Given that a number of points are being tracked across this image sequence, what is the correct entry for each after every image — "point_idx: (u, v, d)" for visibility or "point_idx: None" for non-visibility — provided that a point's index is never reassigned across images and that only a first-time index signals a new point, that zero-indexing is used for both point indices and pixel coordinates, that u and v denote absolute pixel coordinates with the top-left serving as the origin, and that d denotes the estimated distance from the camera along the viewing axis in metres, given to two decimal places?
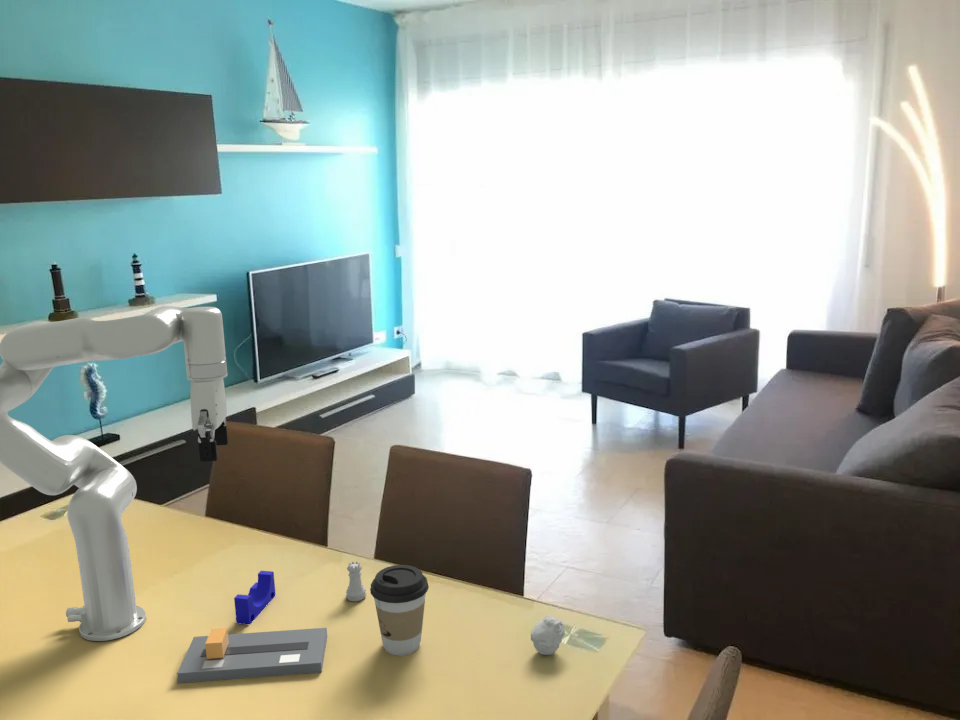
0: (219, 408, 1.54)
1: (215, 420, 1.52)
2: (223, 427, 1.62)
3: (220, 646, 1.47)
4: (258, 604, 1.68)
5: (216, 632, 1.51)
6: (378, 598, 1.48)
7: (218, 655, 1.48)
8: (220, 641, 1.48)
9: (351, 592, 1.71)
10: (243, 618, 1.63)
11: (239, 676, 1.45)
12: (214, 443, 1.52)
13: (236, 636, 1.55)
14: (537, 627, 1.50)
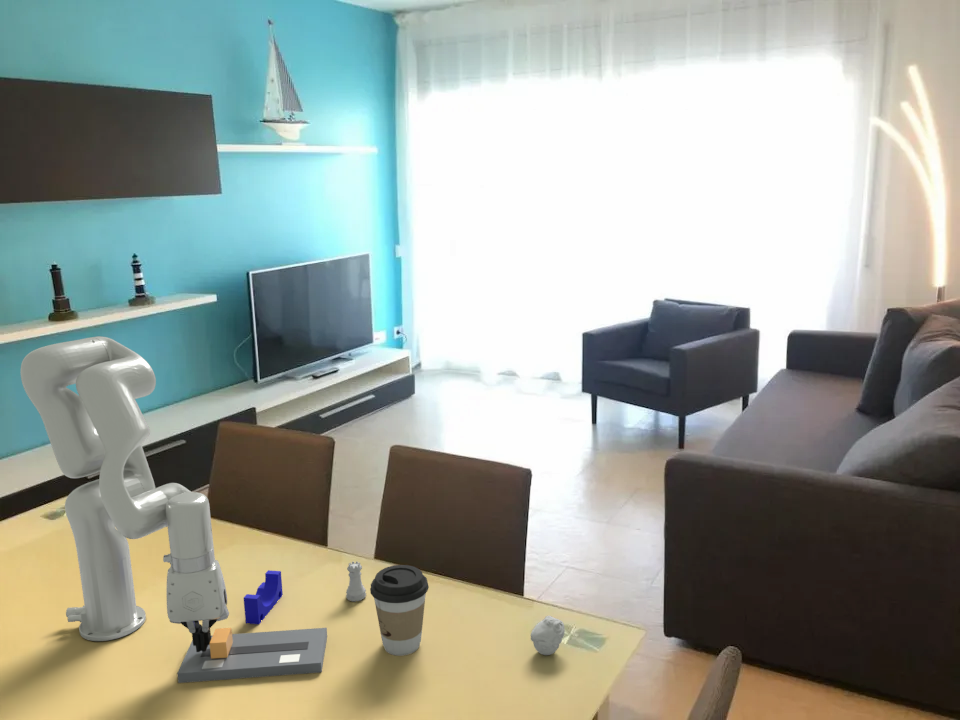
0: None
1: None
2: (201, 626, 1.50)
3: (224, 646, 1.47)
4: (266, 604, 1.69)
5: (220, 631, 1.51)
6: (378, 598, 1.48)
7: (222, 655, 1.48)
8: (224, 641, 1.48)
9: (351, 592, 1.71)
10: (252, 618, 1.63)
11: (239, 676, 1.45)
12: None
13: (236, 636, 1.55)
14: (537, 627, 1.50)
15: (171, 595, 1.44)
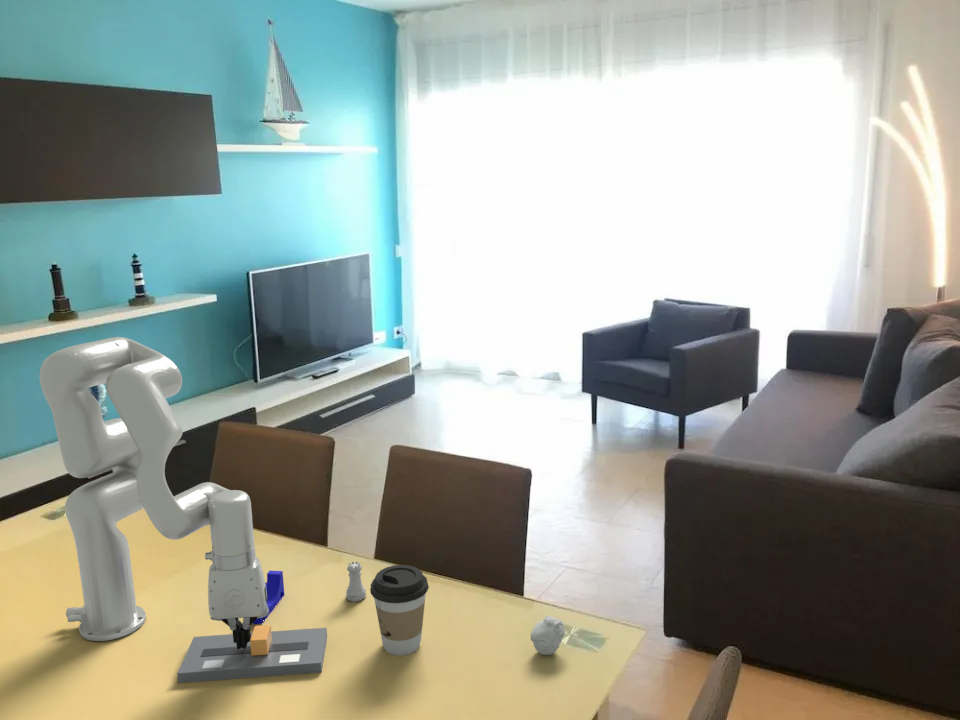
0: None
1: None
2: (241, 623, 1.51)
3: (265, 643, 1.48)
4: (269, 604, 1.69)
5: (260, 629, 1.51)
6: (378, 598, 1.48)
7: (263, 652, 1.48)
8: (265, 638, 1.48)
9: (351, 592, 1.71)
10: None
11: (239, 676, 1.45)
12: None
13: None
14: (537, 627, 1.50)
15: (213, 592, 1.45)
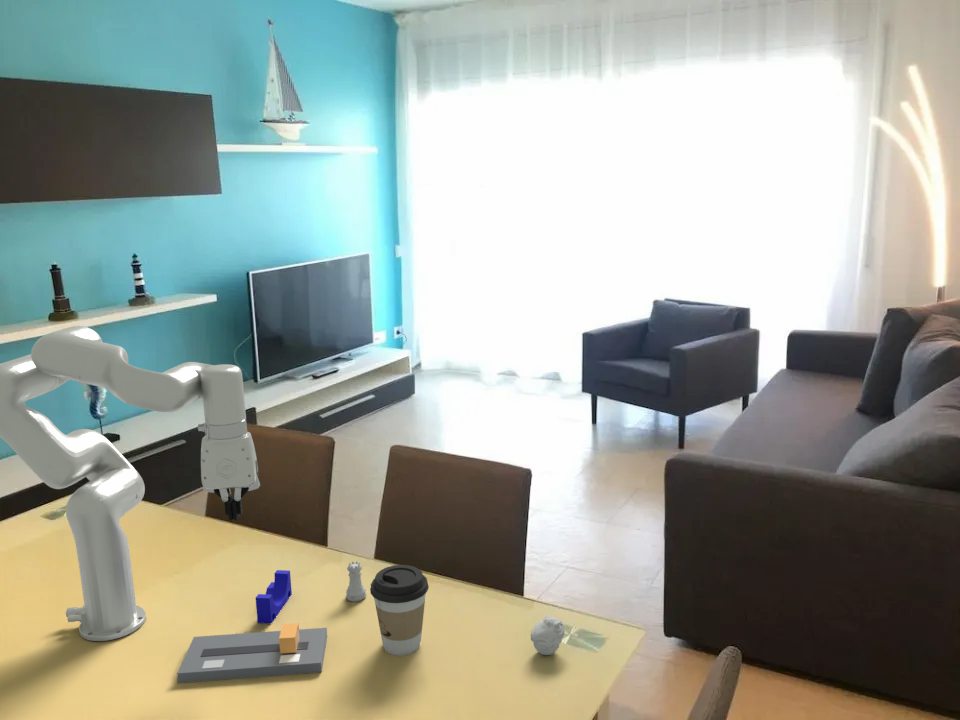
0: None
1: None
2: (233, 497, 1.55)
3: (293, 641, 1.49)
4: (277, 603, 1.69)
5: (288, 627, 1.52)
6: (378, 598, 1.48)
7: (291, 650, 1.49)
8: (293, 636, 1.49)
9: (351, 592, 1.71)
10: (265, 617, 1.63)
11: (239, 676, 1.45)
12: None
13: (236, 636, 1.55)
14: (537, 627, 1.50)
15: (205, 462, 1.50)
